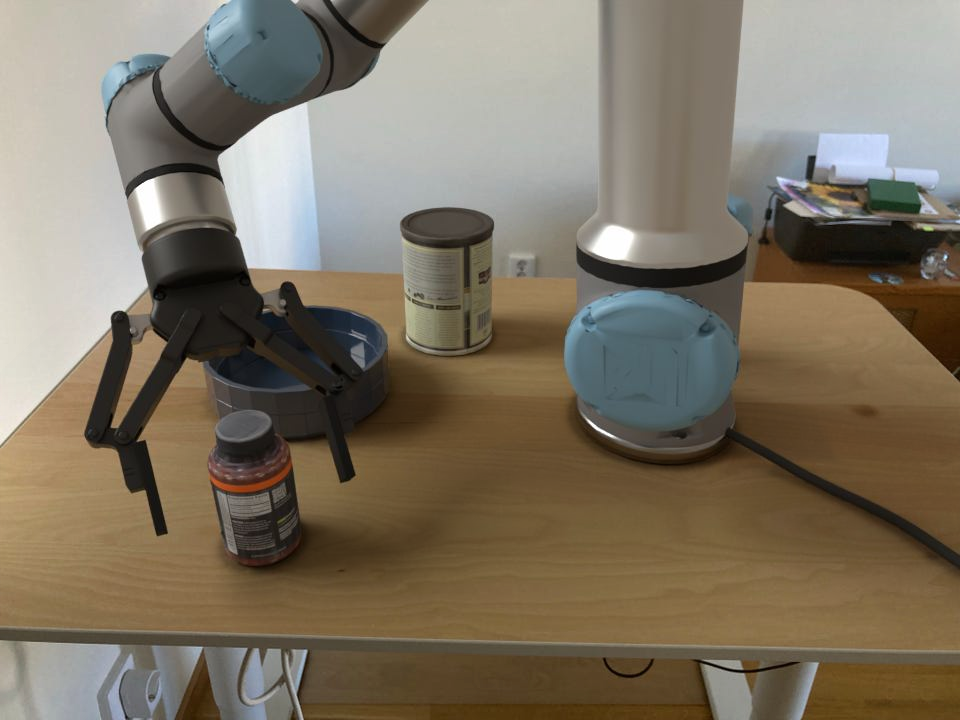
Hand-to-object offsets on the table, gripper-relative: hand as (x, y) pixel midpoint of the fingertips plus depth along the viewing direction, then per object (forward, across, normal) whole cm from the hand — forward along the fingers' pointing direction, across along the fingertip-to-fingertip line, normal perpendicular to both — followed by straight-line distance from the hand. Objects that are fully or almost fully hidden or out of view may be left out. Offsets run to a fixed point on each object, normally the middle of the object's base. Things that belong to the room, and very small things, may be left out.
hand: (259, 505), depth 57 cm
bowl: (-12, -9, -20) cm, 25 cm away
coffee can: (-15, -28, -23) cm, 39 cm away
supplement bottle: (+2, 0, -5) cm, 6 cm away
